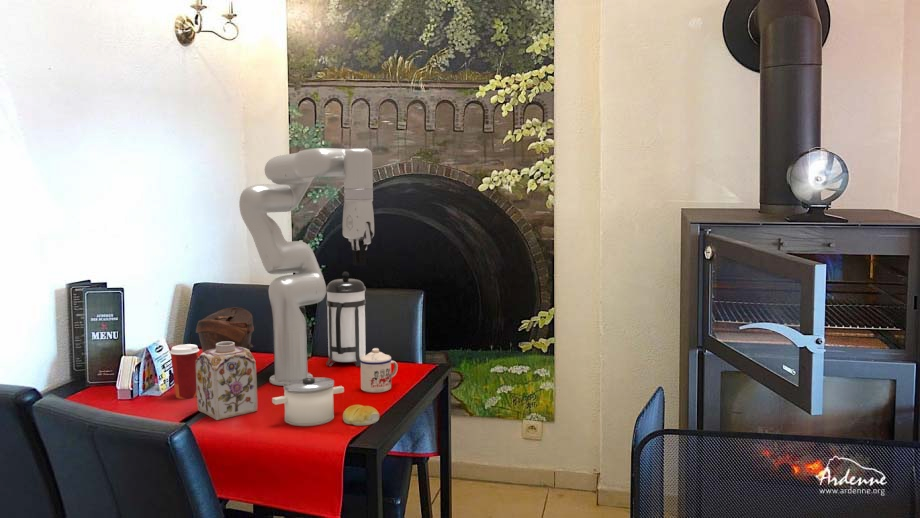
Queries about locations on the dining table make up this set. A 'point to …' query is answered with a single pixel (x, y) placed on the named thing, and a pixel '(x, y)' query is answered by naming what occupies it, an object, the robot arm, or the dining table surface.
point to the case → (226, 328)
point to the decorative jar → (226, 381)
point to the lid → (308, 384)
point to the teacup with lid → (376, 371)
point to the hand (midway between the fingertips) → (359, 264)
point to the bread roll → (360, 415)
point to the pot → (308, 406)
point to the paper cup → (184, 370)
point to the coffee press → (346, 320)
